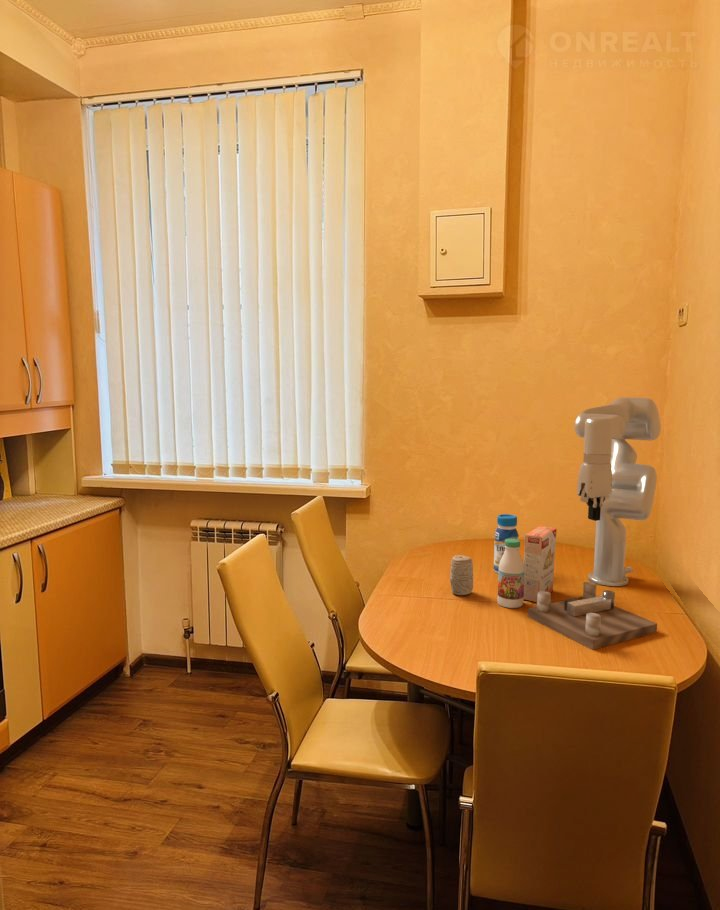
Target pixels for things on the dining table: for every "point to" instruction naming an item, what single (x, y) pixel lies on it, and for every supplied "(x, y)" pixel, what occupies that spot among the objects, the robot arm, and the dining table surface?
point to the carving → (461, 575)
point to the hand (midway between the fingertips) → (593, 519)
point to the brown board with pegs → (590, 621)
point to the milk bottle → (511, 576)
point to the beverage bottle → (503, 536)
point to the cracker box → (539, 561)
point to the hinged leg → (592, 604)
